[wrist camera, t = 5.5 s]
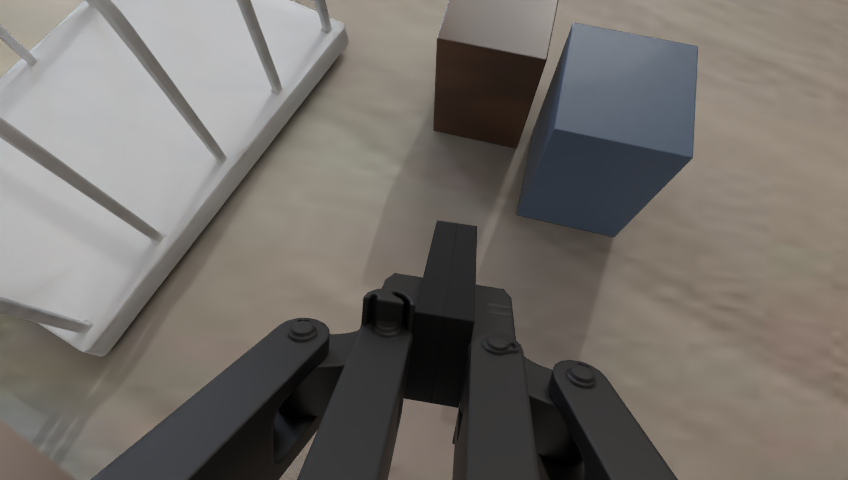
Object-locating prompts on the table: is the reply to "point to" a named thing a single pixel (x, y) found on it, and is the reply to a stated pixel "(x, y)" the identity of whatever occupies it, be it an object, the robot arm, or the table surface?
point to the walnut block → (490, 66)
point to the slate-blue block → (610, 129)
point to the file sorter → (138, 145)
